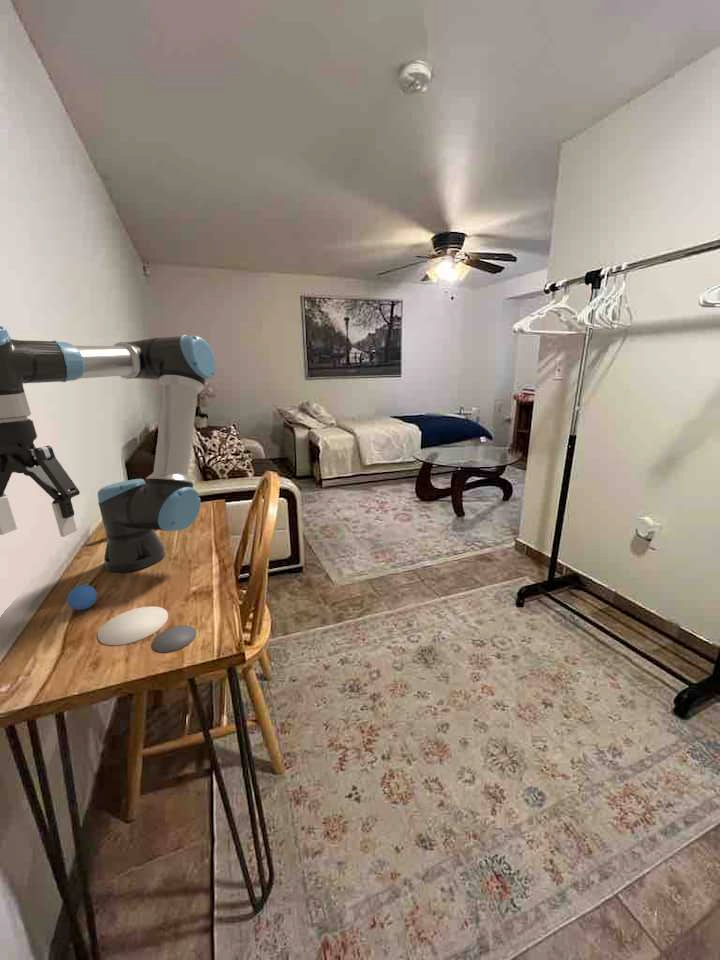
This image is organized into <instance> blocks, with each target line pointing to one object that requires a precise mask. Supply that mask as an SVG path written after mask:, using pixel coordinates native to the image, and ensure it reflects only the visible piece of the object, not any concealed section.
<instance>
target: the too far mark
mask: <svg viewBox="0 0 720 960" xmlns="http://www.w3.org/2000/svg"><path fill="white" fill-rule="evenodd" d="M196 637H197V630H196V628H195V627H193V626H191V625H185V624H184V625H183V624H182V625H175V626H172V627H168V628H166V629H165V630H163V631H162V632H160V633H158V634H157V635H156V636H155V638H153V640H152V642H151V648H152V649H153V650H154V651H155V652H158V653H172V652H175V651H178V650H180V649H183V648H184V647H187V646H188V645H189V644H191V643H192V642H193V641H194V640H195V639H196Z"/></svg>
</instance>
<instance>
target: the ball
mask: <svg viewBox="0 0 720 960" xmlns="http://www.w3.org/2000/svg"><path fill="white" fill-rule="evenodd" d="M97 598H98V592H97V590H96V588H95V587H94V586H92V585H90V584H81V585H77V586H75V587H74V588H72V589H71V590H70V591H69V593H68V595H67V603H68V605H69V607H70V608H72V609H73V610H76V611H83V610H86V609H89V608H90V607H92V606H93V605H94V604H95V603H96V601H97Z"/></svg>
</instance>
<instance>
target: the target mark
mask: <svg viewBox="0 0 720 960" xmlns="http://www.w3.org/2000/svg"><path fill="white" fill-rule="evenodd" d="M168 619H169V611H168V610H166V609H165V608H163V607H160V606H141V607H137V608H133V609H130V610H127V611H125V612H122V613H120V614H118V615H116V616H115V617H112V618H111V619H109V620H108V621H107V622H105V623H104V624H103V625H101V627H100V629H99V630H98V632H97V640H98V641H99V642H100V643H101V644H103V645H108V646H123V645H127V644H132V643H135V642H139V641H141V640H144V639H146V638H148V637H151V635H153V634H155V633H156V632H158V631H159V630H161V629H162V628H163V627H164V626H165V625H166V623H167V622H168Z"/></svg>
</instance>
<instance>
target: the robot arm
mask: <svg viewBox="0 0 720 960" xmlns="http://www.w3.org/2000/svg"><path fill="white" fill-rule="evenodd" d="M216 366H217V365H216V358H215V355H214V352H213V351H212V348H211V346H210V344H208V342H207V341H206V339H204V338H202V337H200V336H198V335H187V334H183V335H177V336H166V337H164V336H163V337H153V338H147V339H142V340H135V341H125V342H124V341H121V342H116V343H115V344H114V345H74V344H72V343H69V342H64V341H63V342H62V341H57V340H18V339H13V338H11V336H10V334H9V333H8V330H7V329H6V328H5V327H4V326H2V325H0V536H2V535H3V536H4V535H5V534H8V533H11V532H14V531H16V530H18V527H17V524H16V522H15V521H16V520H15V517H14V514H13V512H12V509H11V505H10V502H9V499H8V497H6V496H7V494H5V490H6V489H7V485H8V484H9V481H10V479H11V476H12V474H13V473H17V474H23V475H25V476H26V477H30V478H31V479H32V480H33V481H34V482H35V483H36V484H37V485H38V486H39V487H40V488H41V489H42V490H43V491H45V493H46V494H48V495H49V496H50V497H51V498H52V499H53V500H52V502H51V506H52V509H53V510H52V511H53V513H54V517H55V520H56V524H57V528H58V530H59V534H60V537H63V538H64V537H65V538H66V537H67V536H69V535H72V534H73V533H75V532H77V531H78V529H77V525H76V522H75V518H74V516H75V512H74V511H75V510H74V506H73V503H72V498H74V497H76V496H78V495H80V494H81V493H80V492H81V491H80V490H79V488H78V487H77V486H76V484H75V483H74V481H73V480H72V479H71V476H70V475H69V474H68V473H67V471H66V470H65V468H64V467H63V466H62V464H61V463H60V462H59V460H58V459H57V457H56V455H55V452H54V449H53V447H52V446H51V445H44V446H40V447H36V446H35V444H34V441H35V440H36V439H37V438H38V434H37V431H36V428H35V425H34V422H33V420H32V419H30V418H28V417H30V416H31V415H32V412H31V408H30V405H29V402H28V399H27V397H26V393H25V389H24V384H36V383H37V384H40V383H57V382H58V383H66V382H70V381H76V380H81V379H91V378H93V379H94V378H106V377H121V378H122V379H125V380H129V379H130V380H131V379H141V380H142V379H143V380H152V381H153V380H154V381H159V382H160V383H161V385H162V386H163V394H162V401H161V408H160V418H159V424H158V425H159V426H158V433H157V439H156V442H157V443H156V449H155V458H154V464H153V472H152V473H151V474H150V475H148V476H147V477H145V478H146V479H143V478H134V479H129V480H125V481H124V480H123V481H119V482H116V483H111V484H109V485H105V486H103V487H101V488H99V490H98V491H97V498H98V503H97V504H98V507H99V511H100V515H101V519H102V522H103V527H104V532H105V535H106V547H105V552H104V553H105V554H104V558H103V562H104V567H105V569H106V570H107V571H109V572H112V573H126V572H132V571H138V570H141V569H144V568H147V567H150V566H152V565H155V564H157V563H159V562H160V561H161V560H163V559H164V557H165V556H164V555H166V551H165V546H164V544H163V542H162V540H161V539H160V537H159V536H158V534H157V533H156V531H157V530H158V531H164V532H173V531H175V532H176V531H178V532H179V531H183V530H184V531H185V530H186V529H188V528H190V527H191V525H192V524H194V523H195V521H196V519H197V518H198V517H199V513H200V510H201V497H199V496H200V494H199V492H198V491H197V490H196V489H195V488H194V481H193V480H192V479H191V478H190V477H189V471H190V463H191V454H192V448H193V447H192V446H193V445H192V444H193V438H194V436H193V435H194V429H195V428H194V427H195V419H196V412H197V411H196V410H197V402H198V394H199V393H201V391H203V390H204V389H205V382H206V380H208V379H211V378H212V377H213V376H214V374H215V373H216ZM155 530H156V531H155Z"/></svg>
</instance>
